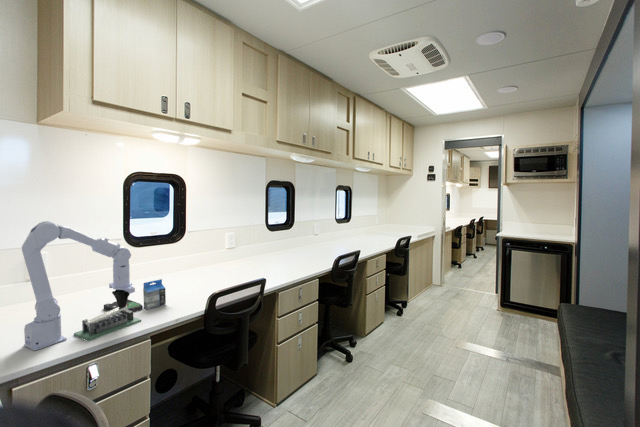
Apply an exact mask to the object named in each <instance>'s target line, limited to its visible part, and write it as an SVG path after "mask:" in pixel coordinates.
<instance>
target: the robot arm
mask: <svg viewBox="0 0 640 427" xmlns="http://www.w3.org/2000/svg"><path fill="white" fill-rule="evenodd" d="M56 239H59V240H64V239H66V240H67V239H71V240H73V241H76V242H79V243H81V244H83V245H85V246H89V247H91V250H92V251H93V252H95V253H98V254H100V255H102V256H105V257H108V258H112V275H113V276H112V280H113V282H109V284H108V287H109V289H113V291H112V292H111V293H112V295H113V296H114V299H115V300H116V301H117V303H118V306H119V308H122V307H125V306H126V303H127V299H128V300H129V297H130V294H133V293H135V292H136V289H135V286H133V282H130V280H131V279H130V278H131V277H130V276H131V275H130V259H131V256H132V253H131V252H130V250H129V249H128V248H126V247H125V246H123V245H121V244H120V243H115V242H113V241H110V239H109V238H107V237H105V238H103V237H100V238H93V237H91V236H89V235H87V234H85V233H83V232H81V231H78V230H75V229H73V228H71V227H69V226H65V225H61V224H58V223H57V224H56V223H53V222H51V221H41V222H38V223H37V224H36V225H35V226H34V227H33V228H32V229H30V232H29V233H28V234H27V236H26V239H25V240H24V242H23V244H22V246H21V252H22V254H23V258H24V263H25V266H26V269H27V272H28V277H29V280H30V283H31V286H32V289H33V290H32V291H33V293H34V297H35V301H36V303H35V305H34V310H35V312H36V313H35V315H36V316H35V317H34V318H33V321H31V322H28V323H26V324H25V325H24V328H23V329H24V332H23V333H24V344H23V346H24V347H27V348H29V349H30V350H32V351H38V350H40V349H43V348H46V347H49V346H53V345H54V344H57V343H61V342H63V341H66V340H67V337H66V336H64V335H62V316H61V315H62V314H61V307H60V306H59V304H58V303H59V302H58V300H57V299H56V298H55V297H54V295H53V292H52V289H51V286H50V281H49V277H48V275H47V274H48V273H47V270H46V266H45V263H44V260H43V257H42V255H43V254H42V252H41V251H42V250H43V249H44V248H45V247H46V246H47V245H48V244H50V243H51V242H53V241H55V240H56Z"/></svg>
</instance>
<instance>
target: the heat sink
mask: <svg viewBox="0 0 640 427" xmlns="http://www.w3.org/2000/svg"><path fill="white" fill-rule="evenodd" d="M88 320H89V319H86V318H85V319H83V320H81V321H82V322H81V325H82V326H81V327H82V330H81V331H83V333H85V332H88V331H89V335H90V336H91V335H94V334H99V333H102V332H104V331H107V330H110V329H113V328H115V327H118V326H121V325H123V324H126V323H127V315H125V314H122V313H119V312H118V313H116V314H113V315H111V316H109V317H107V318H105V319H103V320H101V321H98V322H96V323H94V322H91V323H89V325H86V324H84V322H85V321H88Z"/></svg>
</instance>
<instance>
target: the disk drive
mask: <svg viewBox="0 0 640 427" xmlns="http://www.w3.org/2000/svg"><path fill="white" fill-rule="evenodd" d="M126 306H127V308H128V310H130V311H133V313H135V312H137V310H138V311H141V310H143V309H144V305H142V304H141V303H139V302H136V301H133V300H131V299H129V298H128V299H127V303H126ZM117 307H119V306H118V303H117V300H116V301H113V302H112V303H105V304H103V310H104V309H105V311H107V310H108V311H110V310H113V309H115V308H117ZM140 309H141V310H140ZM108 311H107V312H108ZM134 311H135V312H134ZM119 313H122V314H125V313H124V311H120V312H119Z"/></svg>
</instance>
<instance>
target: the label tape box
mask: <svg viewBox="0 0 640 427" xmlns="http://www.w3.org/2000/svg"><path fill="white" fill-rule="evenodd" d="M162 281H163V279H162V278H161V279H156V280H151V281H146V282H143V290H142V291H143V292H142V293H143V309H145V308H146V310H151V309H153V308H156V307H160V306H164V305H166V304H167V301H166V287H165V286H164V284H163V283H162Z"/></svg>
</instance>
